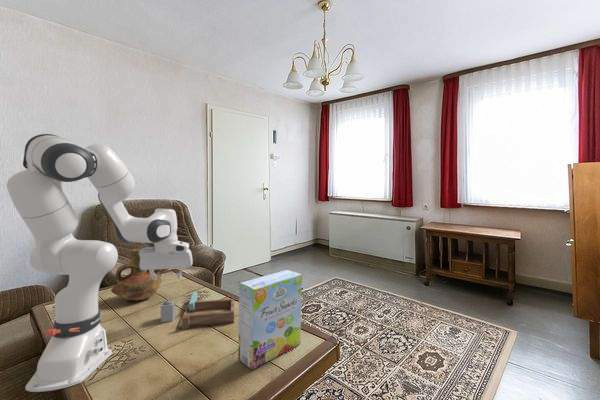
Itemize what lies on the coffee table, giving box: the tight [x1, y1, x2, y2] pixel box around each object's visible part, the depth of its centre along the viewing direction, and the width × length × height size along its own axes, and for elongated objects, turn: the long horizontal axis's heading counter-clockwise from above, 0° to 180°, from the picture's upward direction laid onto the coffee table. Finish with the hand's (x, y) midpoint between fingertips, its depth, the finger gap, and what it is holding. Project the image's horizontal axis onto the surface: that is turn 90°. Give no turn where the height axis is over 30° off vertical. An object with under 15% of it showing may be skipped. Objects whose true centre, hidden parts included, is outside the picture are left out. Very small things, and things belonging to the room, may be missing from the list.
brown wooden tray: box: [178, 297, 235, 331], centre depth 128 cm, size 30×21×4 cm
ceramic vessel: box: [110, 248, 169, 302], centre depth 142 cm, size 17×26×25 cm, turn 123°
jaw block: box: [160, 300, 176, 323], centre depth 120 cm, size 4×4×8 cm
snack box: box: [237, 269, 303, 371], centre depth 96 cm, size 22×9×26 cm, turn 136°
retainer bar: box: [189, 291, 198, 311], centre depth 133 cm, size 14×2×3 cm, turn 13°
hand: (167, 278), depth 120 cm, fingers open, 8 cm apart
